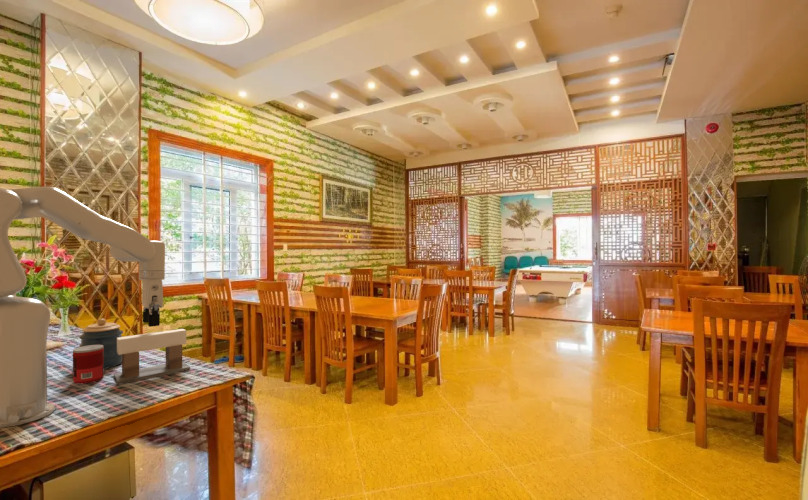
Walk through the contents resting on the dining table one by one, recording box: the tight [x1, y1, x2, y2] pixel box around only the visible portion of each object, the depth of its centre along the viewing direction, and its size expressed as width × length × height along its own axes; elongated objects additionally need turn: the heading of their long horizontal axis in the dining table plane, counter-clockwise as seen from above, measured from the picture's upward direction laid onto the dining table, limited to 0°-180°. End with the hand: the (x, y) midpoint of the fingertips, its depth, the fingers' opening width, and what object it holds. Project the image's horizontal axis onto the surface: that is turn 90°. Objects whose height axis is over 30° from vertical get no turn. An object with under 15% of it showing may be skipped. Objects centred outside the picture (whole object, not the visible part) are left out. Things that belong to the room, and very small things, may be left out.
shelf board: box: [117, 328, 187, 355], centre depth 132 cm, size 4×20×5 cm, turn 134°
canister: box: [78, 318, 124, 369], centre depth 141 cm, size 13×13×18 cm
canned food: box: [72, 345, 105, 385], centre depth 126 cm, size 8×8×11 cm
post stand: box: [113, 344, 191, 386], centre depth 132 cm, size 10×21×9 cm, turn 134°
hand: (151, 324), depth 132 cm, fingers open, 9 cm apart
